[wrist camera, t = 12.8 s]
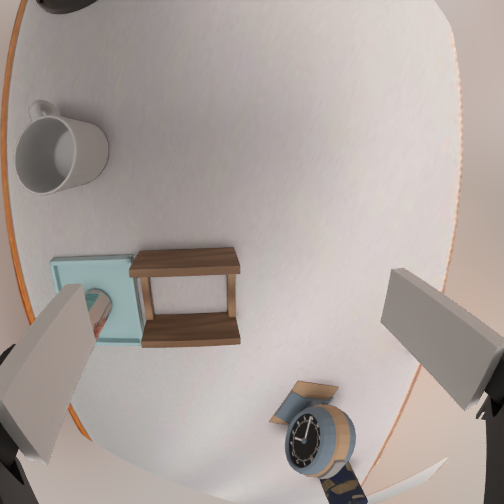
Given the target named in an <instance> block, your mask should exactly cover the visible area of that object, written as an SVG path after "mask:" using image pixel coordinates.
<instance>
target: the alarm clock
mask: <svg viewBox="0 0 504 504" xmlns="http://www.w3.org/2000/svg"><path fill="white" fill-rule="evenodd" d="M338 388H339V387H336V386H329V385H322V384H316V383H309V382H304V381H297V383H296V384H295V386H294V387H293V389H292V390H291V392H290V393H289V394H288V396H287V397H286V399H285V400H284V402H283V403H282V404H281V406H280V407H279V409H278V410H277V411H276V413H275V414H274V415H273V417H272V418H271V420H270V421H269V422H272V423H281V424H290V425H289V428H288V431H287V434H286V440H285V452H286V457H287V460H288V462H289V464H290V466H291V467H292V468H293V469H294V470H296V471H297V472H299V473H300V474H304V475H306V476H308V477H318V479H328V478H330V477H332V476H334V475H335V474H337V473H338V472H339V471H340V470H341V468H342V467H343V466H344V465H345V464H346V463H347V462H348V461H349V459H350V457H351V455H352V453H353V451H354V447H355V440H356V434H355V428H354V425H353V423H352V421H351V419H350V418H349V417H348V415H347V414H346V413H344V412H343V411H341V410H340V409H338V408H337V407H335V406H330V405H328V404H329V402H330V401H331V400H332V398H333V397H332V396H333V395H334V393H335V392H336V391H337V389H338Z"/></svg>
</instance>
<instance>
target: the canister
mask: <svg viewBox="0 0 504 504" xmlns="http://www.w3.org/2000/svg"><path fill="white" fill-rule="evenodd" d="M320 482H321V484H322V487H323V490H324V492H325V495H326V497H327V499H328V502H329V504H367V503H368V500H367V498H366V496H365V494H364V492H363V490H362V488H361V486H360V484H359V482H358V479H357V477H356V475H355V473H354V471H353V469H352V467H351V465H350V463H349V462H347V463H346V464H345V465H344V466H343V467H342V468H341V470H340V471H339V472H338V473H337V474H335V475H334V476H332V477H330V478H328V479H320Z"/></svg>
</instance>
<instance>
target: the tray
mask: <svg viewBox="0 0 504 504" xmlns="http://www.w3.org/2000/svg"><path fill="white" fill-rule="evenodd" d="M133 261H134V257H133V255H111V256H85V257H59V258H53V259H52V260H51V261H50V262H49V264H50V269H51V273H52V278H53V283H54V287H55V291H56V295H57V294H58V293H59V291H60V290H61V289H62V288H63V287H64V286H65V285H66V284H82V286H83V291H84V294H85V293H86V292H87V291H89V290H92V289H97V290H100V291H102V292H104V293H105V294H106V295H107V296H108V297H109V298H110V300H111V303H112V310H111V313H110V315H109V317H108V319H107V321H106V323H105V325H104V327H103V329H102V331H101V333H100V335H99V337H98V339H97V341H96V344H95V345H106V346H142V345H141V339H142V335H143V332H144V325H143V319H142V313H141V307H140V301H139V295H138V288H137V281H136V278H130V277H129V268H130V266H131V265H132V263H133Z"/></svg>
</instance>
